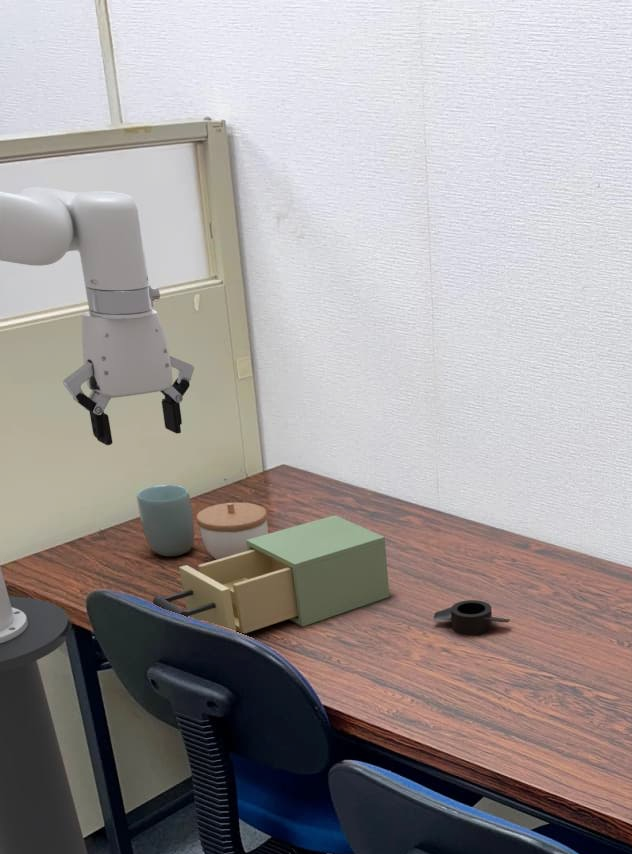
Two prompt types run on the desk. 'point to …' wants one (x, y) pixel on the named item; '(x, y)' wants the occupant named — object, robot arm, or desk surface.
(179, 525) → the cup
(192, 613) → the drawer
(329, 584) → the box
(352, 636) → the desk surface
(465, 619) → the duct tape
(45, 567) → the desk surface
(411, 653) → the desk surface
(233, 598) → the block
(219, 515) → the trinket box
